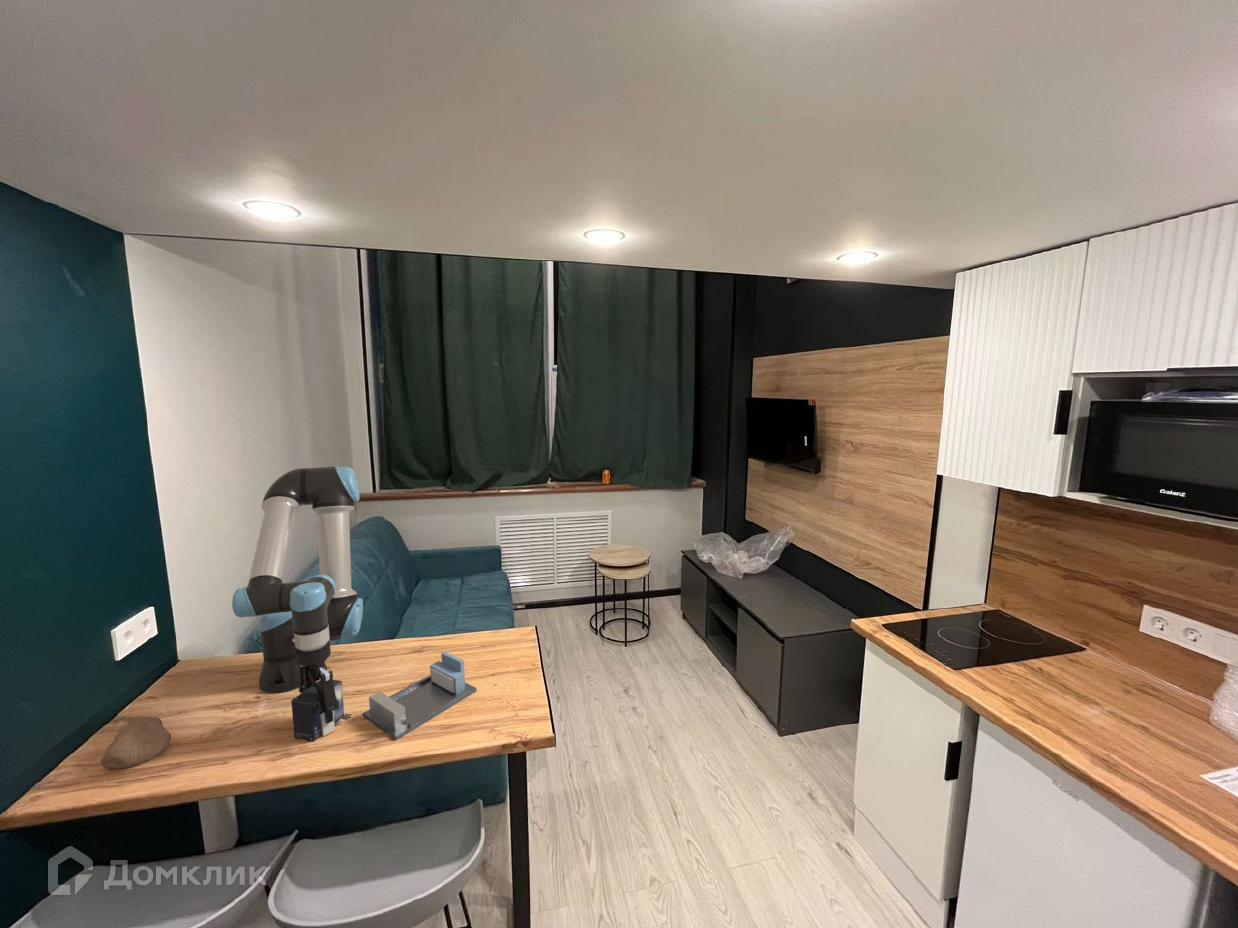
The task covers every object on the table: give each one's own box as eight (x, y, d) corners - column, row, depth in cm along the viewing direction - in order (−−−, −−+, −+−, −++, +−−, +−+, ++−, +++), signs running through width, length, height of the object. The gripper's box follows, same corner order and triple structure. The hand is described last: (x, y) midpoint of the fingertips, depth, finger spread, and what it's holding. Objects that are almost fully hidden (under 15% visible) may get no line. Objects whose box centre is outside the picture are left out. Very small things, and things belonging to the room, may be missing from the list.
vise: (362, 716, 132) (361, 695, 131) (442, 673, 152) (441, 655, 151) (396, 740, 123) (394, 718, 122) (476, 691, 143) (475, 672, 142)
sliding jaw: (429, 681, 146) (428, 656, 145) (443, 674, 150) (441, 649, 149) (454, 695, 139) (453, 669, 138) (468, 687, 143) (467, 662, 142)
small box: (314, 742, 122) (311, 704, 121) (292, 739, 123) (288, 700, 122) (346, 715, 132) (343, 679, 131) (325, 712, 134) (322, 677, 132)
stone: (156, 742, 125) (123, 717, 122) (187, 723, 125) (156, 698, 122) (118, 786, 113) (81, 760, 110) (153, 765, 114) (117, 738, 110)
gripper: (278, 638, 127) (286, 718, 131) (316, 663, 116) (324, 750, 119) (309, 627, 134) (316, 703, 137) (348, 650, 122) (355, 733, 125)
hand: (320, 725), depth 128 cm, fingers open, 8 cm apart
